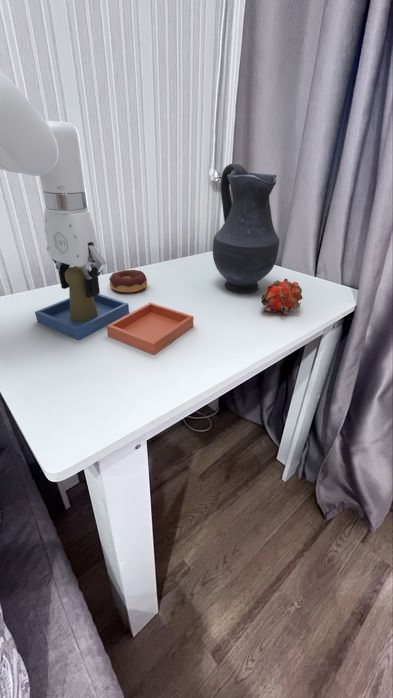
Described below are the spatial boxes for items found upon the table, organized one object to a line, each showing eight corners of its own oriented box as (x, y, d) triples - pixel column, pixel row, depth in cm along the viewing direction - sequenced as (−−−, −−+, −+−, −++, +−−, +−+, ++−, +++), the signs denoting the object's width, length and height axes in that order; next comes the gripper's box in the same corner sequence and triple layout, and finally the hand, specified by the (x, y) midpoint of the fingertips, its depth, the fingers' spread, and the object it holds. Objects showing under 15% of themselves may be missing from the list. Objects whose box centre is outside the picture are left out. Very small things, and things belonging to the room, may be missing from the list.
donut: (102, 291, 87) (100, 276, 85) (120, 278, 95) (119, 265, 93) (137, 297, 85) (136, 282, 83) (152, 283, 93) (152, 270, 91)
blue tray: (78, 340, 66) (76, 329, 65) (37, 322, 72) (34, 311, 71) (129, 313, 77) (128, 303, 76) (89, 299, 83) (88, 289, 81)
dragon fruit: (299, 312, 85) (262, 328, 80) (282, 285, 87) (245, 299, 82) (318, 295, 77) (278, 312, 73) (298, 266, 79) (259, 281, 75)
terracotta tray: (153, 355, 63) (153, 344, 62) (107, 336, 68) (106, 325, 67) (193, 326, 73) (193, 316, 72) (150, 311, 78) (150, 302, 77)
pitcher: (233, 304, 83) (248, 170, 67) (192, 277, 98) (196, 162, 82) (284, 293, 91) (308, 169, 75) (239, 269, 106) (251, 162, 90)
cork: (64, 318, 73) (54, 270, 67) (82, 307, 78) (74, 261, 72) (87, 324, 71) (79, 275, 65) (103, 312, 76) (97, 266, 70)
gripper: (19, 198, 62) (39, 286, 72) (83, 210, 55) (96, 307, 65) (52, 194, 68) (67, 277, 78) (115, 205, 61) (123, 295, 70)
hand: (80, 290), depth 71 cm, fingers open, 6 cm apart
